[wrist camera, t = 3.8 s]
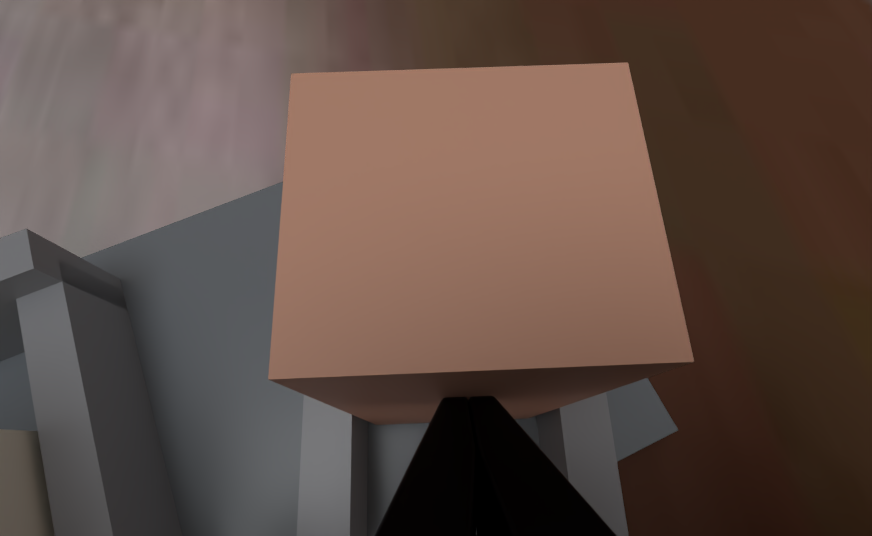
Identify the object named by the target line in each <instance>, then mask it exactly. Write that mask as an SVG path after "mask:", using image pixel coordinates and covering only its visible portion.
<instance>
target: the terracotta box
mask: <svg viewBox="0 0 872 536" xmlns="http://www.w3.org/2000/svg"><path fill="white" fill-rule="evenodd" d="M692 362H694V359H693V354H692V350H691V345H690V341H689V336H688V331H687V327H686V322H685V318H684V313H683V309H682V304H681V300H680V295H679V291H678V286H677V282H676V277H675V273H674V268H673V264H672V259H671V255H670V250H669V246H668V241H667V237H666V232H665V228H664V223H663V219H662V214H661V210H660V205H659V201H658V196H657V192H656V187H655V183H654V178H653V174H652V169H651V165H650V160H649V156H648V151H647V147H646V142H645V138H644V133H643V129H642V124H641V119H640V115H639V110H638V106H637V101H636V97H635V92H634V88H633V83H632V79H631V74H630V70H629V65H628V63H603V64H572V65H541V66H510V67H480V68H449V69H418V70H387V71H357V72H326V73H295V74H291V84H290V97H289V111H288V124H287V137H286V150H285V164H284V177H283V190H282V203H281V216H280V230H279V243H278V256H277V269H276V282H275V296H274V309H273V322H272V335H271V348H270V362H269V375H268V380H271V381H273V382H275V383H278V384H280V385H282V386H285V387H287V388H290V389H292V390H294V391H297V392H299V393H302V394H304V395H306V396H309V397H311V398H313V399H316V400H318V401H321V402H323V403H325V404H328V405H330V406H332V407H335V408H337V409H340V410H342V411H344V412H347V413H349V414H351V415H354V416H356V417H359V418H361V419H363V420H366V421H368V422H371V423H373V424H375V425H387V424H410V423H430V421H431V419H432V417H433V415H434V413H435V411H436V409H437V407H438V405H439V403H440V401H441V400H442V399H443V398H447V397H466V398H467V399H469V398H470V397H472V396H494V397H495V398H496V399H497V400H498V401H499V402H500V403H501V404H502V406H503V407H504V408H505V409H506V410H507V411H508V412H509V414H510V415H511V416H512V417H513V418H514V419H526V418H531V417H534V416H537V415H540V414H543V413H546V412H549V411H551V410H554V409H557V408H560V407H563V406H566V405H569V404H572V403H575V402H578V401H581V400H584V399H587V398H590V397H593V396H595V395H598V394H601V393H604V392H607V391H610V390H613V389H616V388H619V387H622V386H625V385H628V384H631V383H634V382H636V381H639V380H642V379H645V378H648V377H651V376H654V375H657V374H660V373H663V372H666V371H669V370H672V369H675V368H678V367H680V366H683V365H686V364H689V363H692Z"/></svg>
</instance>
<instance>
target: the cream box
mask: <svg viewBox="0 0 872 536" xmlns="http://www.w3.org/2000/svg"><path fill="white" fill-rule="evenodd" d="M0 536H55V533H54V527H53V521H52V515H51V509H50V503H49V497H48V491H47V485H46V479H45V473H44V466H43V460H42V454H41V448H40V442H39V436H38V431H25V430H4V429H0Z"/></svg>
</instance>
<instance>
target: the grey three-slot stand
mask: <svg viewBox="0 0 872 536" xmlns="http://www.w3.org/2000/svg"><path fill="white" fill-rule="evenodd" d="M282 190H283V182H281V183H278V184H275V185H273V186H270V187H268V188H265V189H262V190H260V191H257V192H254V193H252V194H249V195H246V196H244V197H241V198H238V199H236V200H233V201H231V202H228V203H225V204H223V205H220V206H217V207H215V208H212V209H209V210H207V211H204V212H201V213H199V214H196V215H194V216H191V217H188V218H186V219H183V220H180V221H178V222H175V223H172V224H170V225H167V226H164V227H162V228H159V229H157V230H154V231H151V232H149V233H146V234H143V235H141V236H138V237H135V238H133V239H130V240H127V241H125V242H122V243H120V244H117V245H114V246H112V247H109V248H106V249H104V250H101V251H98V252H96V253H93V254H91V255H88V256H85V257H83V258H80V257H78V256H76V255H74V254H73V253H71V252H69V251H67V250H65V249H63V248H61V247H60V246H58V245H56V244H54V243H52V242H50V241H48V240H47V239H45V238H43V237H41V236H39V235H37V234H36V233H34V232H32V231H30V230H28V229H24V230H21V231H19V232H16V233H13V234H10V235H8V236H5V237H2V238H0V429H4V430H25V431H38V436H39V442H40V448H41V454H42V460H43V466H44V473H45V479H46V485H47V491H48V497H49V503H50V509H51V515H52V521H53V527H54V533H55V536H374V534H375V532H376V530H377V528H378V526H379V524H380V522H381V520H382V518H383V516H384V514H385V512H386V510H387V508H388V506H389V504H390V502H391V500H392V498H393V496H394V494H395V492H396V490H397V488H398V486H399V484H400V482H401V480H402V478H403V476H404V474H405V472H406V470H407V468H408V466H409V464H410V462H411V460H412V458H413V456H414V454H415V452H416V450H417V448H418V446H419V444H420V442H421V440H422V438H423V436H424V434H425V432H426V430H427V428H428V426H429V424H430V423H410V424H387V425H375V424H373V423H371V422H368V421H366V420H363V419H361V418H359V417H356V416H354V415H351V414H349V413H347V412H344V411H342V410H340V409H337V408H335V407H332V406H330V405H328V404H325V403H323V402H321V401H318V400H316V399H313V398H311V397H309V396H306V395H304V394H302V393H299V392H297V391H294V390H292V389H290V388H287V387H285V386H282V385H280V384H278V383H275V382H273V381H271V380H268V375H269V362H270V348H271V335H272V322H273V309H274V296H275V282H276V269H277V256H278V243H279V230H280V216H281V203H282ZM515 420H516V422H517V423H518V424H519V425H520V426H521V427H522V428H523V430H524V431H525V432H526V433H527V434H528V435H529V436H530V437H531V439H532V440H533V441H534V442H535V443H536V444H537V445H538V447H539V448H540V449H541V450H542V451H543V452H544V453H545V455H546V456H547V457H548V458H549V459H550V460H551V461H552V463H553V464H554V465H555V466H556V467H557V468H558V469H559V471H560V472H561V473H562V474H563V475H564V476H565V477H566V478H567V480H568V481H569V482H570V483H571V484H572V485H573V486H574V488H575V489H576V490H577V491H578V492H579V493H580V494H581V496H582V497H583V498H584V499H585V500H586V501H587V502H588V504H589V505H590V506H591V507H592V508H593V509H594V510H595V511H596V513H597V514H598V515H599V516H600V517H601V518H602V519H603V521H604V522H605V523H606V524H607V525H608V526H609V527H610V529H611V530H612V531H613V532H614V533H615V534H616V535H617V536H629V535H628V529H627V522H626V516H625V509H624V503H623V497H622V490H621V484H620V478H619V471H618V465H617V461H619V460H621V459H623V458H625V457H627V456H629V455H631V454H633V453H635V452H637V451H639V450H641V449H643V448H645V447H646V446H648V445H650V444H652V443H654V442H656V441H658V440H660V439H662V438H664V437H666V436H668V435H670V434H672V433H674V432H676V431H678V429H677V427H676V425H675V424H674V422H673V420H672V419H671V417H670V415H669V414H668V412H667V410H666V408H665V407H664V405H663V403H662V402H661V400H660V398H659V397H658V395H657V393H656V392H655V390H654V388H653V387H652V385H651V383H650V381H649V380H648V378H645V379H642V380H639V381H636V382H634V383H631V384H628V385H625V386H622V387H619V388H616V389H613V390H610V391H607V392H604V393H601V394H598V395H595V396H593V397H590V398H587V399H584V400H581V401H578V402H575V403H572V404H569V405H566V406H563V407H560V408H557V409H554V410H551V411H549V412H546V413H543V414H540V415H537V416H534V417H531V418H526V419H515Z"/></svg>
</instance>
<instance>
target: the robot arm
mask: <svg viewBox="0 0 872 536" xmlns="http://www.w3.org/2000/svg"><path fill="white" fill-rule="evenodd" d="M374 536H617V535H616V534H615V533H614V532H613V531H612V530H611V529H610V527H609V526H608V525H607V524H606V523H605V522H604V521H603V519H602V518H601V517H600V516H599V515H598V514H597V513H596V511H595V510H594V509H593V508H592V507H591V506H590V505H589V504H588V502H587V501H586V500H585V499H584V498H583V497H582V496H581V494H580V493H579V492H578V491H577V490H576V489H575V488H574V486H573V485H572V484H571V483H570V482H569V481H568V480H567V478H566V477H565V476H564V475H563V474H562V473H561V472H560V471H559V469H558V468H557V467H556V466H555V465H554V464H553V463H552V461H551V460H550V459H549V458H548V457H547V456H546V455H545V453H544V452H543V451H542V450H541V449H540V448H539V447H538V445H537V444H536V443H535V442H534V441H533V440H532V439H531V437H530V436H529V435H528V434H527V433H526V432H525V431H524V430H523V428H522V427H521V426H520V425H519V424H518V423H517V422H516V420H515V419H514V418H513V417H512V416H511V415H510V414H509V412H508V411H507V410H506V409H505V408H504V407H503V406H502V404H501V403H500V402H499V401H498V400H497V399H496V398H495V397H494V396H472V397H470V398H469V399H467V398H466V397H447V398H443V399H442V400H441V401H440V403H439V405H438V407H437V409H436V411H435V413H434V415H433V417H432V419H431V421H430V424H429V426H428V428H427V430H426V432H425V434H424V436H423V438H422V440H421V442H420V444H419V446H418V448H417V450H416V452H415V454H414V456H413V458H412V460H411V462H410V464H409V466H408V468H407V470H406V472H405V474H404V476H403V478H402V480H401V482H400V484H399V486H398V488H397V490H396V492H395V494H394V496H393V498H392V500H391V502H390V504H389V506H388V508H387V510H386V512H385V514H384V516H383V518H382V520H381V522H380V524H379V526H378V528H377V530H376V532H375V534H374Z"/></svg>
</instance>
